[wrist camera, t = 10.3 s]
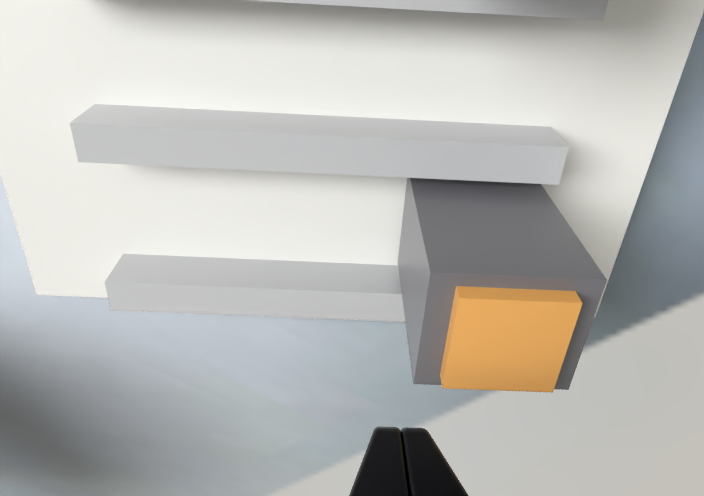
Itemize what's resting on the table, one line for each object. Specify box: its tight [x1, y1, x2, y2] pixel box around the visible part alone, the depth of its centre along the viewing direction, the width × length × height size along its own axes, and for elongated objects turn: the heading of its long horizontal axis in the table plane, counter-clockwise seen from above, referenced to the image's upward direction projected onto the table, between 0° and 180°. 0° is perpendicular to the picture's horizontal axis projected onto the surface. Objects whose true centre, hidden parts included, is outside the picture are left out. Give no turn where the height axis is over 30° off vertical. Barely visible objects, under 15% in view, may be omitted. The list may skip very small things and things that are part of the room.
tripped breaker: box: [398, 178, 607, 392], centre depth 14 cm, size 4×3×5 cm
